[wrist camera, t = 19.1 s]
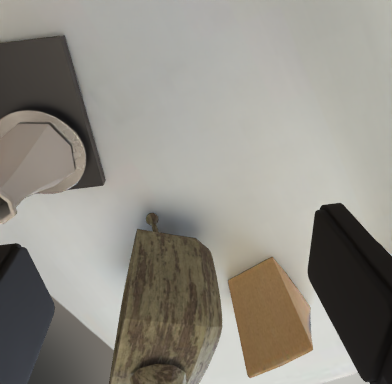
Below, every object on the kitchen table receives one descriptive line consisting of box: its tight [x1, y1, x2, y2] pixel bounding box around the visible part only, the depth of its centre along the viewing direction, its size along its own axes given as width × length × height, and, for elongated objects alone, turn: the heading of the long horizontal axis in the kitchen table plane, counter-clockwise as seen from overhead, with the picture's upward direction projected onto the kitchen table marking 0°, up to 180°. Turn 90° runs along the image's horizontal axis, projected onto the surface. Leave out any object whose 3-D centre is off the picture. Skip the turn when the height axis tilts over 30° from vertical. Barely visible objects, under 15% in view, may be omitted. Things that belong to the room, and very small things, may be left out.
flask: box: [0, 124, 75, 224], centre depth 27 cm, size 7×7×10 cm
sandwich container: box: [228, 257, 313, 378], centre depth 44 cm, size 9×15×15 cm, turn 34°
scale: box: [0, 36, 105, 194], centre depth 32 cm, size 16×16×3 cm
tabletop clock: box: [109, 213, 222, 384], centre depth 33 cm, size 14×9×25 cm, turn 165°
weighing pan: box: [0, 109, 87, 194], centre depth 32 cm, size 9×9×1 cm
